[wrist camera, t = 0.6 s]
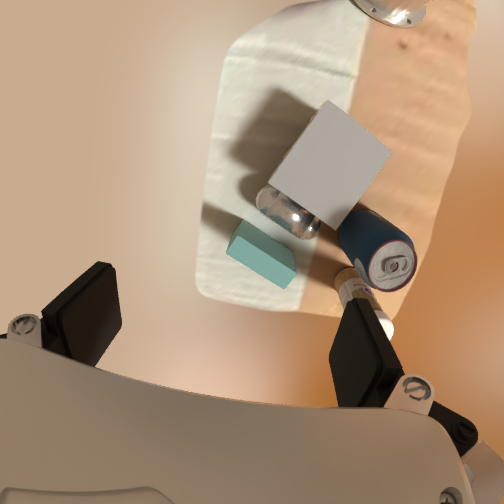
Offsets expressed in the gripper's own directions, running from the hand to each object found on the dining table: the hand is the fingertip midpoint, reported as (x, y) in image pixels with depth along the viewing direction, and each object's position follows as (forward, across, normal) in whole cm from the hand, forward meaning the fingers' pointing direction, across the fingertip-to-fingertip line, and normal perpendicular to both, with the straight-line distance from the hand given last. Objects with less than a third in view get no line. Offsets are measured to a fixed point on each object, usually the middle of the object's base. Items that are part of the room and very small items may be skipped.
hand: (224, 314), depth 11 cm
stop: (+27, -2, +7) cm, 28 cm away
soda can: (+28, -15, +3) cm, 31 cm away
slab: (+23, -8, -5) cm, 25 cm away
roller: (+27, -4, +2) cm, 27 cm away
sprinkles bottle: (+28, -15, +11) cm, 33 cm away
